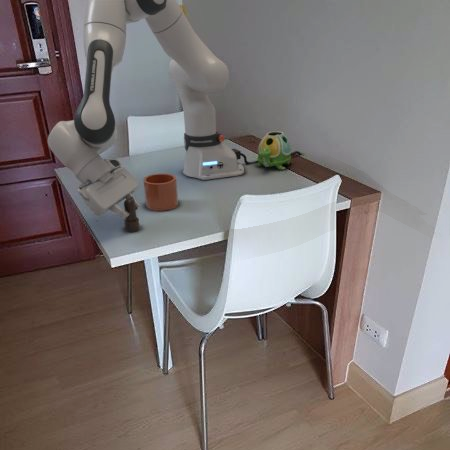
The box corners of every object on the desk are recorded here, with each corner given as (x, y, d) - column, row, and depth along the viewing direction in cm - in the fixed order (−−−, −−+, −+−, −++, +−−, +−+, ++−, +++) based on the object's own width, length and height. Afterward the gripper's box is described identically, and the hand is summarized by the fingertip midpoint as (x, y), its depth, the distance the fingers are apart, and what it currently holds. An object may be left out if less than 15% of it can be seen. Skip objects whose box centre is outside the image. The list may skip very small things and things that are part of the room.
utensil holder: (177, 198, 159) (175, 172, 154) (179, 209, 151) (177, 182, 146) (146, 200, 158) (143, 174, 153) (146, 212, 150) (143, 185, 145)
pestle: (139, 225, 141) (136, 195, 136) (139, 231, 138) (136, 201, 133) (125, 226, 141) (121, 196, 136) (125, 232, 137) (121, 202, 132)
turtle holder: (246, 172, 180) (247, 139, 174) (265, 158, 194) (266, 127, 187) (278, 176, 175) (279, 142, 169) (295, 162, 189) (297, 130, 182)
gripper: (80, 180, 124) (119, 220, 126) (121, 157, 140) (155, 193, 142) (69, 195, 128) (107, 234, 130) (109, 171, 144) (143, 206, 146)
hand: (132, 212), depth 136 cm, fingers open, 5 cm apart
